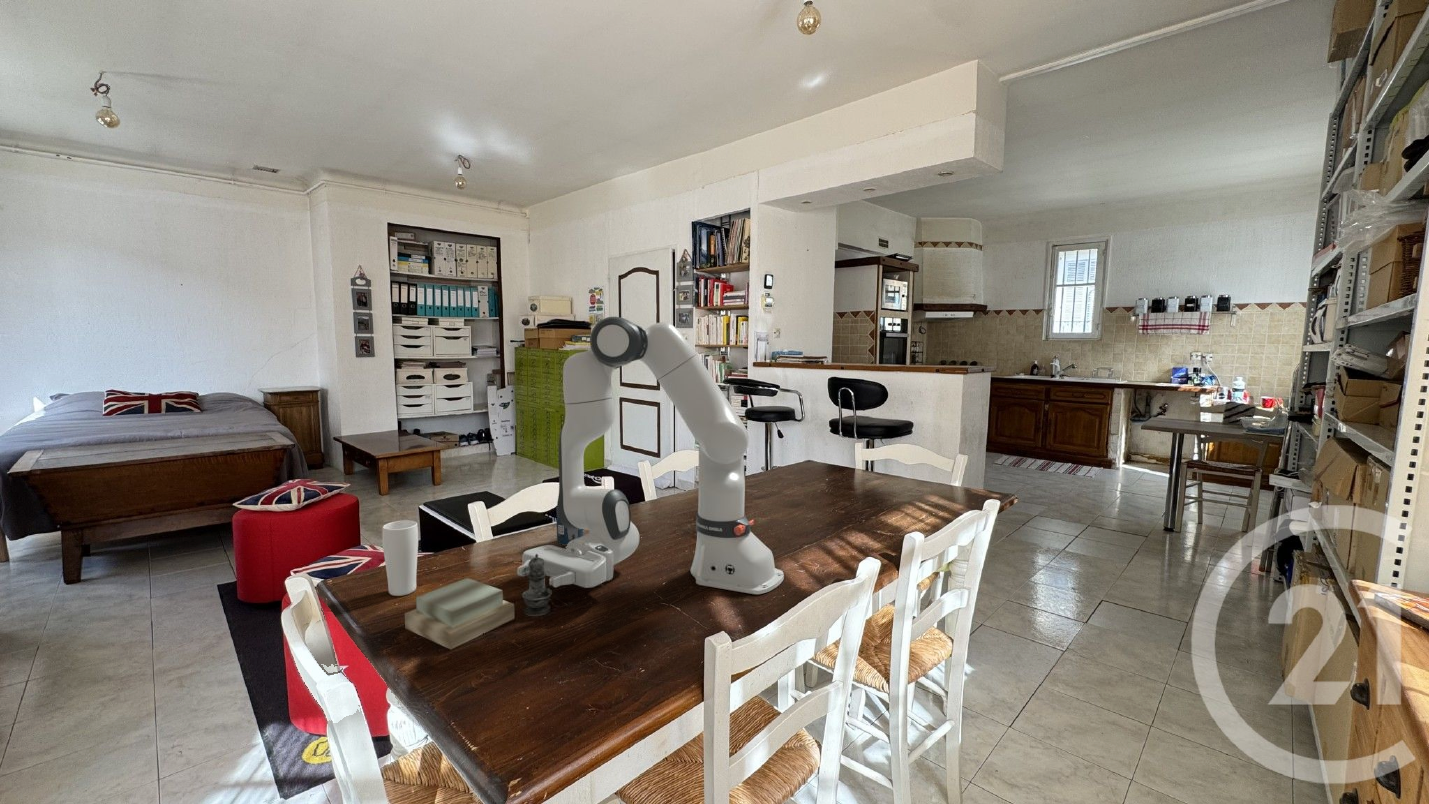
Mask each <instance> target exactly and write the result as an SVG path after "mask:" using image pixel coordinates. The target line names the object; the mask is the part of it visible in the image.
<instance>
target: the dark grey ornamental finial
mask: <svg viewBox="0 0 1429 804" xmlns="http://www.w3.org/2000/svg"><path fill="white" fill-rule="evenodd" d="M535 556H536V557H535V558H533V559H531V561H530V571H529V575H527V578H528V579H529V580H528V581H529V583H528V584H529V587H528V589H527V590H525V591H524V592H523V593H522V595H521V596H522V598H523V601H524V603H525V605H526V608H524V610H523V613H524V614H525V615H527V616H529V617H540V616H541V617H542V616H543V615H544V616H545V615H546V614H549V612H551V610H552V607H551V605H549V602H550V599H551V596H552V594H553V591H552V589H550V588H548V587H546V582H545V581H546V577H547V575H546V573H544V560H543V559H542V558H539V557H538V556H539V555H538V554H536V555H535Z"/></svg>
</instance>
